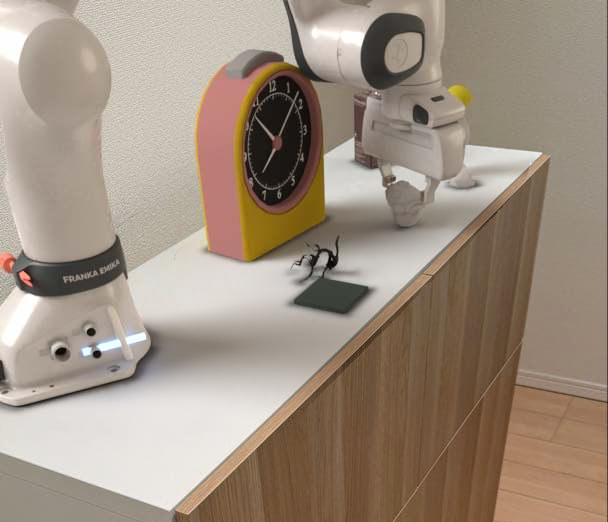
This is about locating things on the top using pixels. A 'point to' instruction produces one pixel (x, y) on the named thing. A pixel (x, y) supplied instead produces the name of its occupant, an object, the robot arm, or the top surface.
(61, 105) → the robot arm
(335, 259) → the creature
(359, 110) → the box
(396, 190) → the white rounded lump
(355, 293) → the coaster pad
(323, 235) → the top surface
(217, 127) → the alarm clock
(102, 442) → the top surface
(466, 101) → the figurine
